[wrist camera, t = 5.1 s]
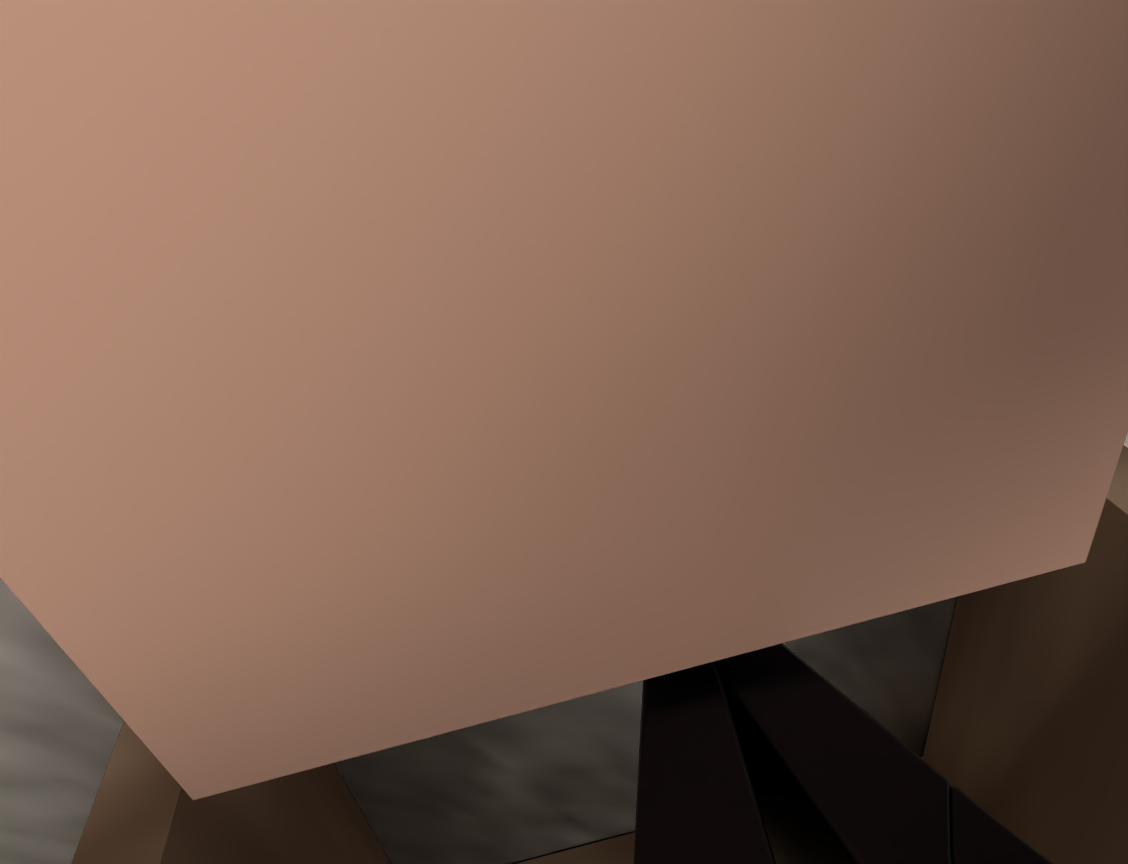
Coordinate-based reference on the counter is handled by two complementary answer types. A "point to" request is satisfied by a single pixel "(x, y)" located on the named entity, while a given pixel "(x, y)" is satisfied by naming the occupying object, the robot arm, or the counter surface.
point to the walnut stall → (953, 747)
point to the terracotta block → (537, 342)
